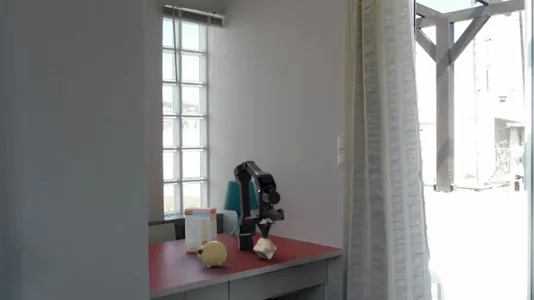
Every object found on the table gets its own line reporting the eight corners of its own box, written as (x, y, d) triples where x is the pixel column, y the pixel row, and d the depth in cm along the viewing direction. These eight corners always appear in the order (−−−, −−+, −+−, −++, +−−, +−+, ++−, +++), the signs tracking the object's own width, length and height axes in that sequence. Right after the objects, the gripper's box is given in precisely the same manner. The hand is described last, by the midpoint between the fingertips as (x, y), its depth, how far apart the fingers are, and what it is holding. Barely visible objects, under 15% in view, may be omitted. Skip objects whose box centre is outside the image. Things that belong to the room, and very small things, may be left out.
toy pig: (203, 263, 213) (203, 238, 213) (230, 264, 210) (229, 239, 210) (194, 268, 204) (193, 242, 204) (221, 270, 200) (221, 243, 200)
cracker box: (217, 252, 234) (216, 207, 234) (211, 255, 229) (210, 209, 229) (192, 250, 240) (191, 206, 240) (185, 252, 235) (184, 208, 235)
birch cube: (277, 247, 219) (270, 259, 216) (267, 245, 223) (260, 257, 220) (269, 239, 216) (262, 251, 213) (260, 237, 220) (253, 249, 217)
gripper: (261, 206, 206) (262, 244, 206) (292, 201, 219) (293, 237, 219) (243, 204, 214) (244, 240, 214) (275, 200, 227) (276, 234, 227)
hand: (265, 238), depth 218 cm, fingers closed
